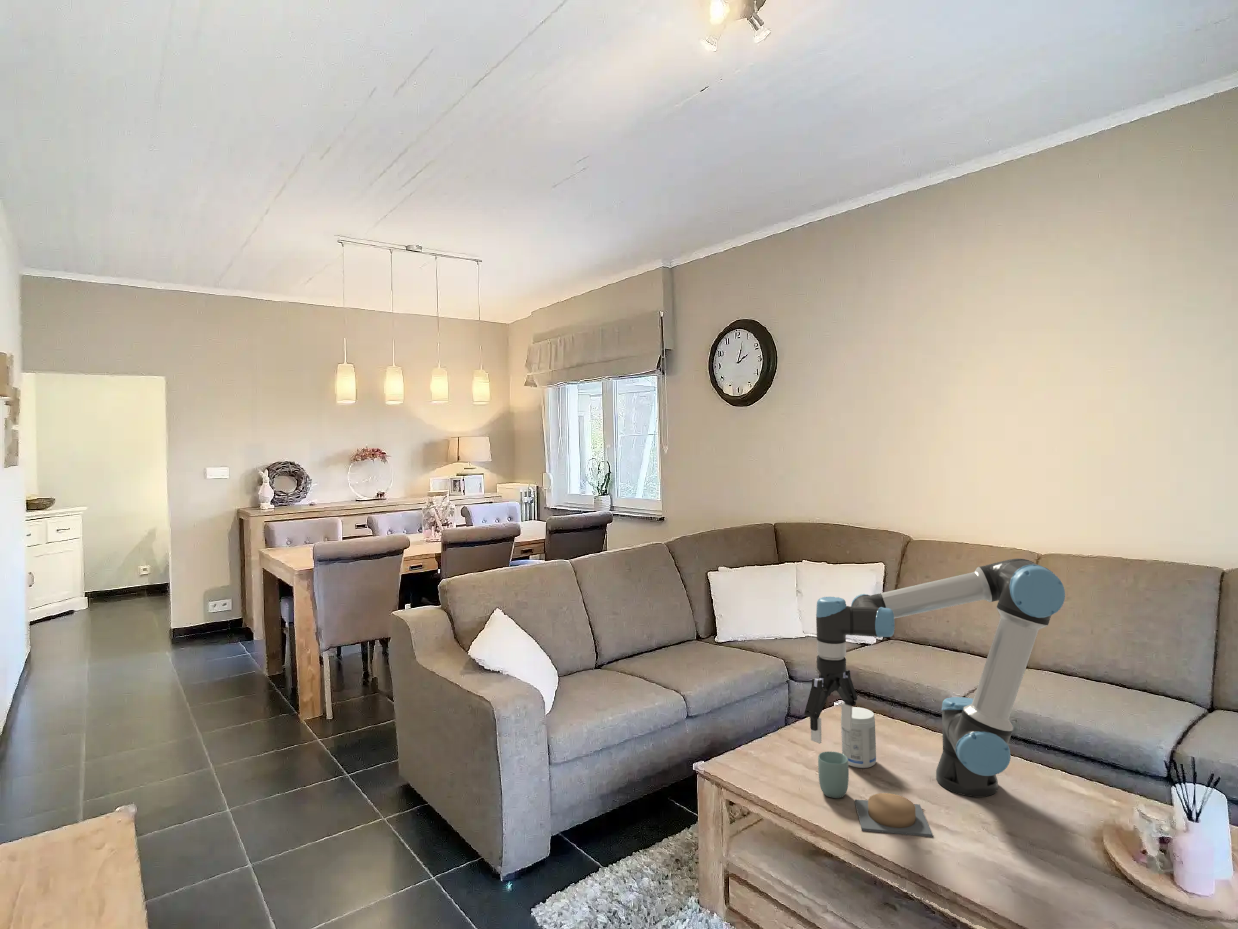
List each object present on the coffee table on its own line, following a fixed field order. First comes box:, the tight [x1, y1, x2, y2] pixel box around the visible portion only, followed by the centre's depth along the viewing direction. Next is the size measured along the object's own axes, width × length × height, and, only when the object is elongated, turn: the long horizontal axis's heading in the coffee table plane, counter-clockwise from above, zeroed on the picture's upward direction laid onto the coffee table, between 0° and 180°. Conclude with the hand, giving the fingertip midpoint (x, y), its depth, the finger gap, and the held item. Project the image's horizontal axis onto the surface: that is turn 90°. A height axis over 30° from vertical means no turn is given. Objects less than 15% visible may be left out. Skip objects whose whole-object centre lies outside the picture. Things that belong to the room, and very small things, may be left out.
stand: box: [854, 792, 934, 838], centre depth 173 cm, size 16×14×4 cm
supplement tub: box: [840, 706, 877, 769], centre depth 204 cm, size 10×10×15 cm
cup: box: [817, 751, 850, 799], centre depth 185 cm, size 8×8×10 cm
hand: (831, 734), depth 185 cm, fingers open, 13 cm apart
